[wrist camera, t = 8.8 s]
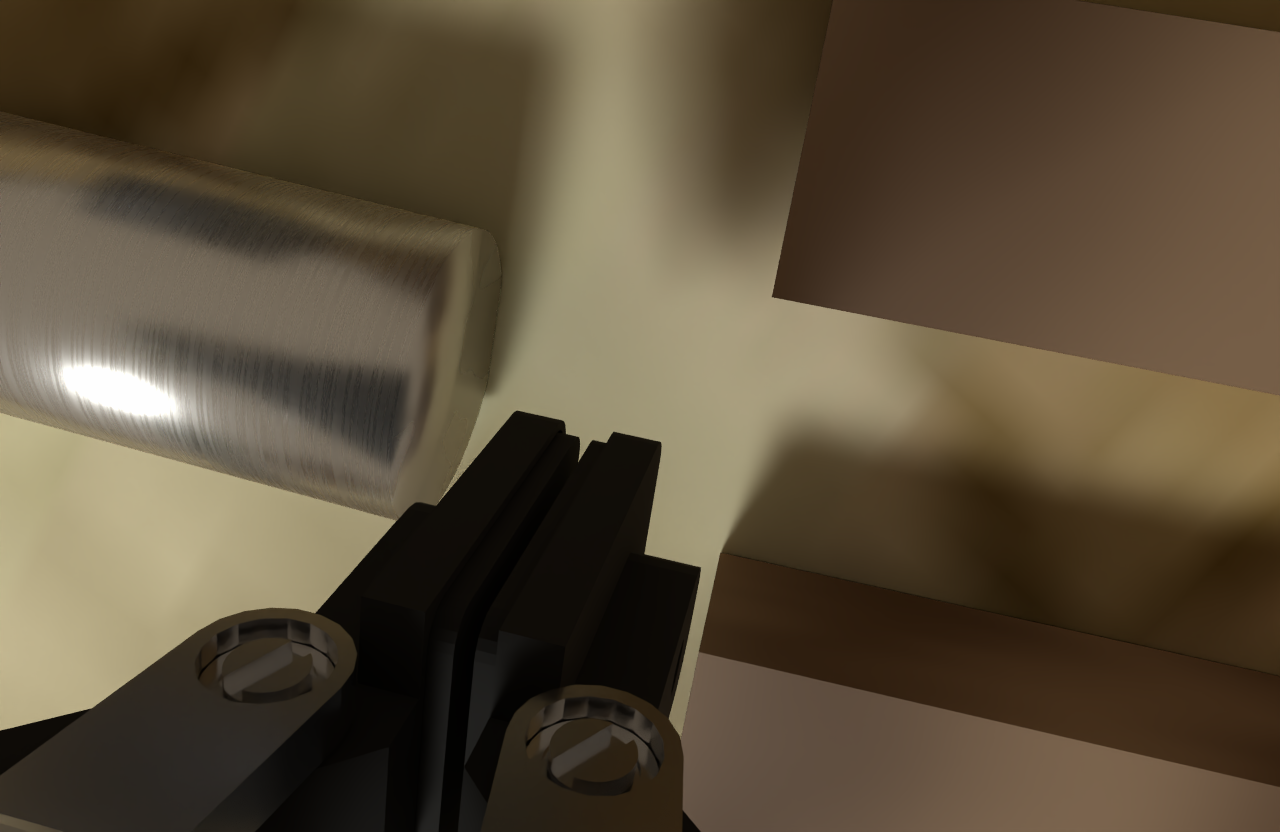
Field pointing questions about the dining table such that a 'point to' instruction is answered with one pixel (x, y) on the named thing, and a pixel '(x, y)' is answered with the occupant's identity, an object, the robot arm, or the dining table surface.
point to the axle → (240, 319)
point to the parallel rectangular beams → (1029, 316)
